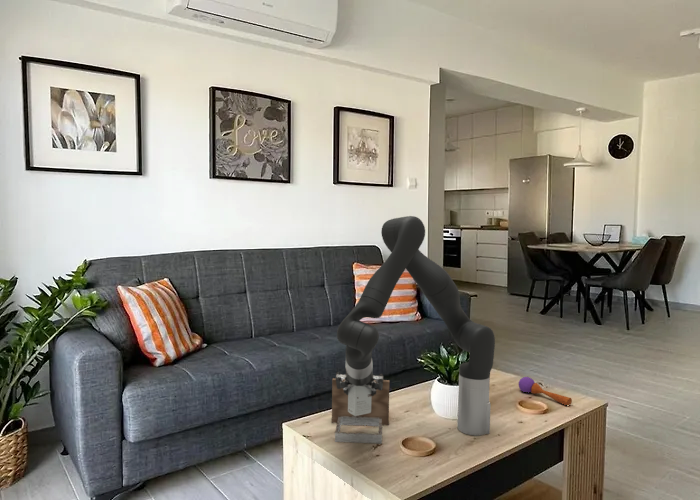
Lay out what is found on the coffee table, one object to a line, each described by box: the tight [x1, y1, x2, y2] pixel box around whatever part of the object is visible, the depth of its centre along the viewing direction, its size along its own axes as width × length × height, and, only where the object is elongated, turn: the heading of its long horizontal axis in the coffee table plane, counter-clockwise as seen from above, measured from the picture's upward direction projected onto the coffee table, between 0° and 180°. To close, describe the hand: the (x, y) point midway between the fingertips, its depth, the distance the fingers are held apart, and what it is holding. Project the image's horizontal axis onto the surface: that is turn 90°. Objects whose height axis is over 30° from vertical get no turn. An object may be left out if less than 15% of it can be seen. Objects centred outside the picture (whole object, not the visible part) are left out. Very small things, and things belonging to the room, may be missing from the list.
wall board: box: [331, 377, 390, 426], centre depth 160 cm, size 18×4×14 cm, turn 87°
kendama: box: [518, 376, 573, 406], centre depth 183 cm, size 6×6×20 cm
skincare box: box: [348, 386, 372, 416], centre depth 150 cm, size 6×4×12 cm
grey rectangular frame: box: [334, 416, 383, 444], centre depth 151 cm, size 14×13×2 cm
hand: (360, 392), depth 152 cm, fingers closed on skincare box, 7 cm apart
